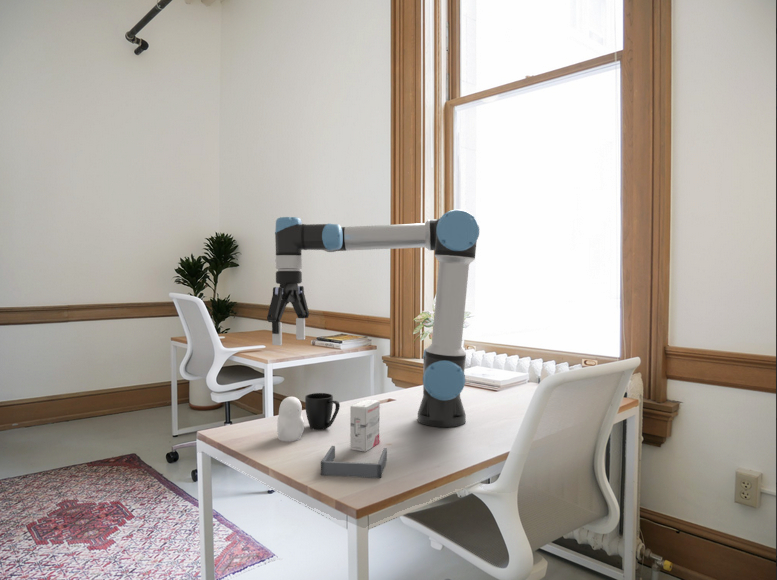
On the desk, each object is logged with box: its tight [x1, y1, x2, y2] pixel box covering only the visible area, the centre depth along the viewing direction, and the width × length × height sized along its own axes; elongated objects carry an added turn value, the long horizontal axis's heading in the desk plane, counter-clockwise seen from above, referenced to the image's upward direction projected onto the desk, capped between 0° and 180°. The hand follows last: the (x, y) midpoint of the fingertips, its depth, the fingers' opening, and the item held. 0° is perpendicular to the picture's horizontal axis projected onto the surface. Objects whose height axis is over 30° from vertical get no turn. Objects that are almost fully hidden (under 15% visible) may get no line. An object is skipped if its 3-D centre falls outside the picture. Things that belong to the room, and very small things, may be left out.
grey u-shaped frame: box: [320, 445, 388, 479], centre depth 132 cm, size 14×12×3 cm
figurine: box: [276, 396, 305, 442], centre depth 154 cm, size 7×8×12 cm
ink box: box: [349, 399, 381, 452], centre depth 148 cm, size 9×5×12 cm, turn 155°
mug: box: [304, 392, 341, 431], centre depth 164 cm, size 8×12×10 cm
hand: (289, 342), depth 162 cm, fingers open, 13 cm apart
